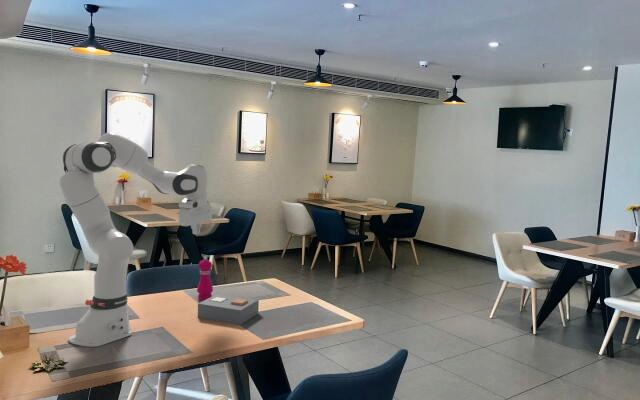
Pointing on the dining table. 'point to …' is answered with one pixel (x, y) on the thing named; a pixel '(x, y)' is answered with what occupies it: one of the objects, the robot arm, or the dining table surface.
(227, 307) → the button console
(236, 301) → the tan cube
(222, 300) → the cream plunger
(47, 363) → the green leafy plant
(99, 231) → the robot arm
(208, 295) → the pepper mill
